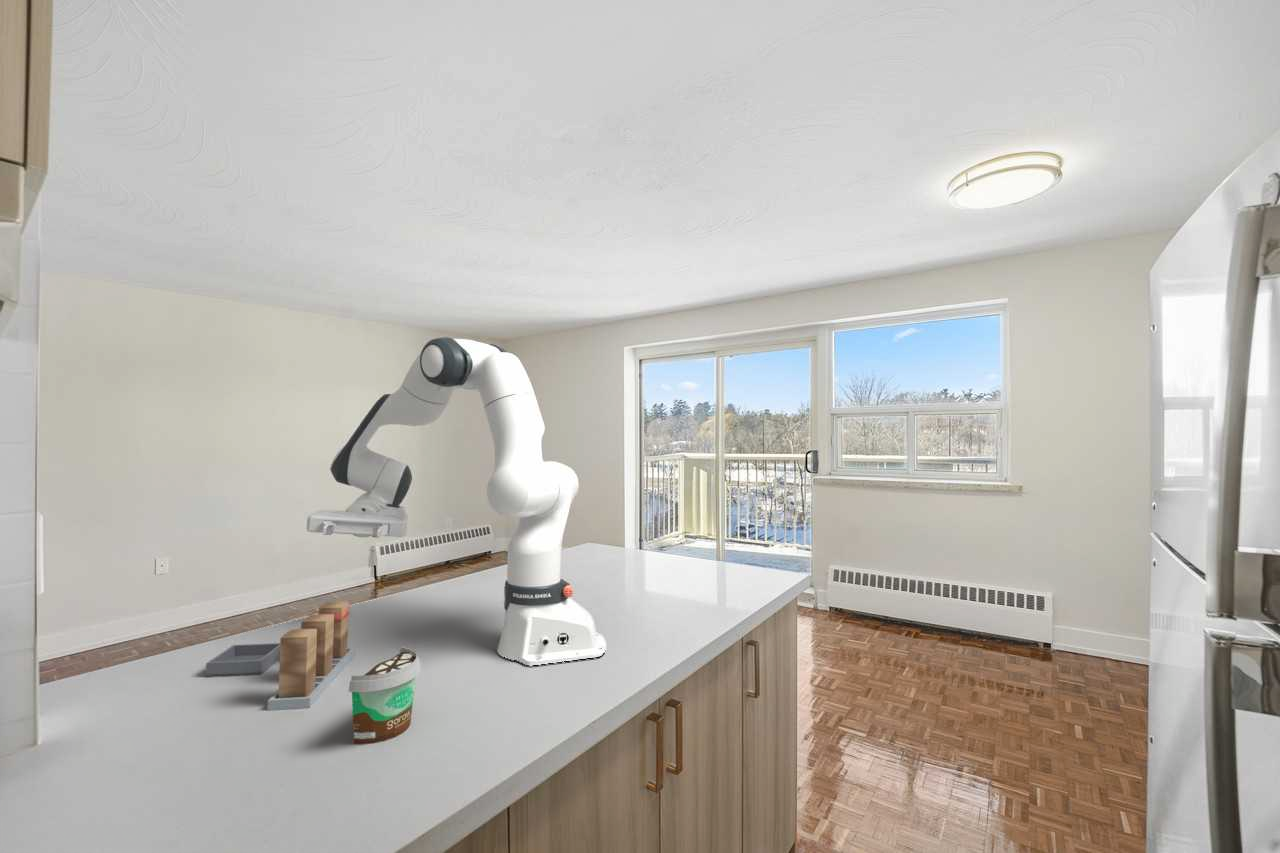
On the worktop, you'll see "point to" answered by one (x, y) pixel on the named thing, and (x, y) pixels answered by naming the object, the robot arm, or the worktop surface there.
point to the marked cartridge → (338, 626)
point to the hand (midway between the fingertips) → (351, 532)
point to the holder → (320, 686)
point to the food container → (384, 698)
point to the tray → (244, 660)
